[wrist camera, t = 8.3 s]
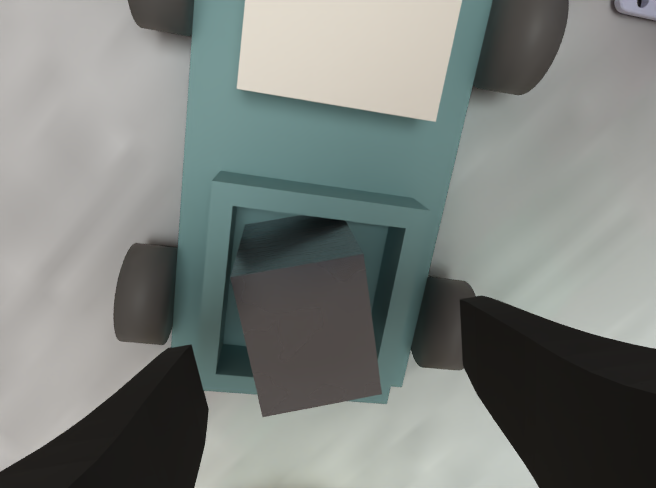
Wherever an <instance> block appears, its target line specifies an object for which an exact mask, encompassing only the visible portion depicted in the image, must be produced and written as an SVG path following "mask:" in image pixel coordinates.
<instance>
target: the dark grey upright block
mask: <svg viewBox="0 0 656 488" xmlns="http://www.w3.org/2000/svg"><path fill="white" fill-rule="evenodd" d="M230 279H231V283H232V287H233V291H234V296H235V300H236V304H237V309H238V313H239V317H240V321H241V326H242V330H243V334H244V339H245V343H246V347H247V351H248V356H249V360H250V364H251V369H252V373H253V377H254V381H255V386H256V390H257V394H258V399H259V403H260V407H261V411H262V416H263V417H265V416H270V415H276V414H281V413H286V412H291V411H297V410H302V409H307V408H312V407H318V406H323V405H328V404H333V403H339V402H344V401H349V400H354V399H360V398H365V397H370V396H375V395H381V394H382V390H381V382H380V375H379V367H378V360H377V352H376V344H375V337H374V329H373V322H372V314H371V306H370V299H369V291H368V284H367V276H366V268H365V261H364V254H363V252H362V250H361V248H360V246H359V245H358V243H357V241H356V239H355V237H354V235H353V233H352V232H351V230H350V228H349V226H348V224H347V222H346V221H345V220H337V219H330V218H322V217H314V216H307V215H298V216H292V217H286V218H281V219H275V220H269V221H263V222H257V223H251V224H245V227H244V230H243V234H242V237H241V241H240V245H239V248H238V252H237V255H236V259H235V262H234V266H233V269H232V273H231V276H230Z"/></svg>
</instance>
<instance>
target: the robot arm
mask: <svg viewBox="0 0 656 488" xmlns="http://www.w3.org/2000/svg"><path fill="white" fill-rule="evenodd" d="M614 4H615V8H616V9H617V11H618V12H620V13H623V14H628V15H632V16H637V17H642V18H646V19H651V20H656V0H642V4H641V6H640V7H638V5H637V0H615V2H614ZM460 318H461V339H462V360H463V366H464V369H465V371H466V373H467V375H468V377H469V379H470V381H471V383H472V385H473V387H474V389H475V391H476V393H477V395H478V396H479V398H480V399H481V401H482V403H483V404H484V405H485V407H486V408H487V410H488V411H489V413H490V414H491V416H492V417H493V419H494V420H495V422H496V423H497V425H498V426H499V427H500V429H501V430H502V432H503V433H504V435H505V436H506V438H507V439H508V440H509V442H510V443H511V445H512V446H513V448H514V449H515V451H516V452H517V453H518V455H519V456H520V458H521V459H522V461H523V462H524V464H525V465H526V467H527V468H528V470H529V472H530V473H531V475H532V476H533V478H534V479H535V481H536V483H537V485H538V487H539V488H656V349H654V348H648V347H643V346H638V345H634V344H629V343H625V342H621V341H617V340H613V339H609V338H605V337H601V336H597V335H594V334H590V333H587V332H584V331H580V330H577V329H574V328H571V327H568V326H565V325H562V324H559V323H556V322H553V321H551V320H548V319H545V318H542V317H540V316H537V315H534V314H532V313H529V312H527V311H524V310H521V309H519V308H516V307H514V306H511V305H509V304H506V303H503V302H501V301H498V300H495V299H492V298H489V297H485V296H476V297H470V298H464V299H460ZM208 410H209V409H208V406H207V402H206V398H205V394H204V390H203V386H202V383H201V379H200V375H199V371H198V367H197V363H196V360H195V356H194V352H193V348H192V344H191V345H185V346H179V347H173V348H168V349H166V350H165V351H164V352H162V353H161V354H160V355H159V356H157V357H156V358H155V359H154V360H153V361H151V362H150V363H149V364H148V365H147V366H146V367H145V368H143V369H142V370H141V371H140V372H139V373H138V374H137V375H135V376H134V377H133V378H132V379H131V380H130V381H129V382H127V383H126V384H125V385H124V386H123V387H122V388H121V389H119V390H118V391H117V392H116V393H115V394H113V395H112V396H111V397H110V398H108V399H107V400H106V401H105V402H103V403H102V404H101V405H100V406H98V407H97V408H96V409H95V410H93V411H92V412H91V413H90V414H88V415H87V416H86V417H85V418H83V419H82V420H81V421H79V422H78V423H76V424H75V425H74V426H72V427H71V428H70V429H68V430H67V431H65V432H64V433H62V434H61V435H59V436H58V437H56V438H55V439H53V440H52V441H50V442H49V443H47V444H46V445H44V446H43V447H41V448H40V449H38V450H36V451H35V452H33V453H31V454H30V455H28V456H26V457H25V458H23V459H21V460H19V461H18V462H16V463H14V464H13V465H11V466H9V467H8V468H6V469H4V470H3V471H1V472H0V488H194V486H195V482H196V479H197V475H198V471H199V467H200V462H201V458H202V454H203V450H204V446H205V439H206V430H207V420H208Z"/></svg>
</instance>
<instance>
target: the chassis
mask: <svg viewBox="0 0 656 488" xmlns="http://www.w3.org/2000/svg"><path fill="white" fill-rule="evenodd" d="M128 3H129V7H130V10H131V13H132V16H133V18H134V20H135V22H136V24H137V25H138V26H139V27H141V28H146V29H152V30H157V31H163V32H168V33H174V34H180V35H185V36H191V35H192V43H191V58H190V73H189V88H188V103H187V118H186V133H185V148H184V163H183V178H182V193H181V208H180V223H179V238H178V248H175V247H166V246H158V245H149V244H140V243H135V244H133V245H132V246H131V247H130V249H129V250H128V252H127V254H126V256H125V259H124V261H123V264H122V267H121V270H120V274H119V277H118V282H117V287H116V293H115V300H114V330H115V334H116V337H117V339H118V340H119V341H123V342H134V343H146V344H158V345H164V344H165V343H166V342H167V340H168V338H169V335H170V333H171V330H172V343H171V348H173V347H179V346H185V345H191V344H192V348H193V352H194V356H195V360H196V363H197V367H198V371H199V375H200V379H201V383H202V386H203V390H204V391H216V392H230V393H244V394H257V390H256V386H255V381H254V377H253V373H252V369H251V364H250V360H249V356H248V351H247V347H246V343H245V339H244V334H243V330H242V326H241V321H240V317H239V313H238V309H237V304H236V300H235V296H234V291H233V287H232V283H231V279H230V276H231V273H232V269H233V266H234V262H235V259H236V255H237V252H238V248H239V245H240V241H241V237H242V234H243V230H244V227H245V224H251V223H257V222H263V221H269V220H275V219H281V218H286V217H292V216H298V215H307V216H314V217H322V218H330V219H337V220H345V221H346V222H347V224H348V226H349V228H350V230H351V232H352V233H353V235H354V237H355V239H356V241H357V243H358V245H359V246H360V248H361V250H362V252H363V254H364V261H365V268H366V276H367V284H368V291H369V299H370V306H371V314H372V322H373V329H374V337H375V344H376V352H377V360H378V367H379V375H380V382H381V390H382V394H381V395H375V396H370V397H365V398H360V399H354V400H349V401H353V402H366V403H380V404H387V401H388V396H389V392H390V387H391V386H393V387H402V384H403V379H404V375H405V371H406V367H407V362H408V358H409V354H410V350H411V351H412V354H413V357H414V359H415V361H416V363H417V364H418V365H419V366H420V367H425V368H436V369H448V370H462V369H463V368H464V366H463V360H462V339H461V318H460V299H464V298H470V297H476V296H475V293H474V291H473V289H472V288H471V286H470V285H469V284H468V283H467V282H465V281H461V280H452V279H443V278H435V277H428V273H429V269H430V265H431V261H432V256H433V252H434V248H435V244H436V239H437V235H438V231H439V227H440V222H441V218H442V214H443V210H444V205H445V201H446V197H447V193H448V188H449V184H450V180H451V176H452V171H453V167H454V163H455V159H456V154H457V150H458V146H459V142H460V137H461V133H462V129H463V125H464V120H465V116H466V112H467V108H468V103H469V99H470V95H471V91H472V86H473V85H474V86H475V87H477V88H480V89H486V90H491V91H497V92H502V93H508V94H514V95H522V94H525V93H527V92H529V91H530V90H531V89H533V88H534V87H535V86H536V85H537V84H538V83H539V82H540V80H541V79H542V78H543V77H544V75H545V74H546V72H547V71H548V69H549V67H550V66H551V64H552V62H553V60H554V58H555V56H556V54H557V52H558V49H559V47H560V44H561V42H562V38H563V35H564V32H565V28H566V23H567V18H568V7H569V1H568V0H128ZM172 327H173V328H172ZM257 395H258V394H257Z"/></svg>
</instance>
